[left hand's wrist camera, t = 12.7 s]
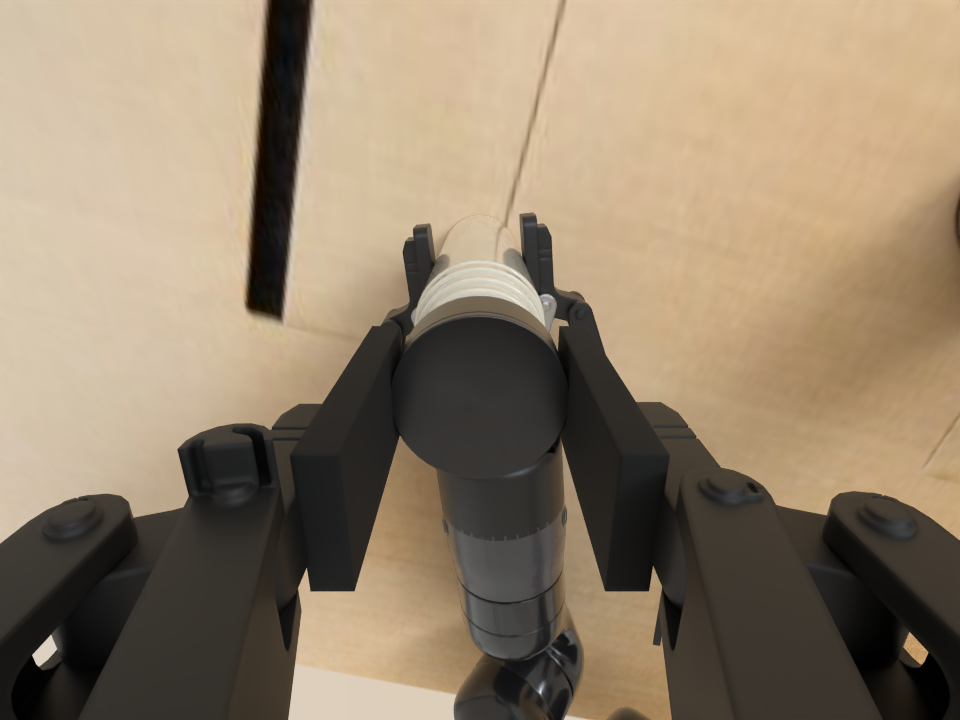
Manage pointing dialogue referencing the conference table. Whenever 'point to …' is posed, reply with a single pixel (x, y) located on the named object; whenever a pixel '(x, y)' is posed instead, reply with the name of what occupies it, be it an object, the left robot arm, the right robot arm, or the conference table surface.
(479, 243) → the bottle
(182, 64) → the conference table surface
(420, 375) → the cap
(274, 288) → the conference table surface
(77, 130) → the conference table surface
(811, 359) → the conference table surface
